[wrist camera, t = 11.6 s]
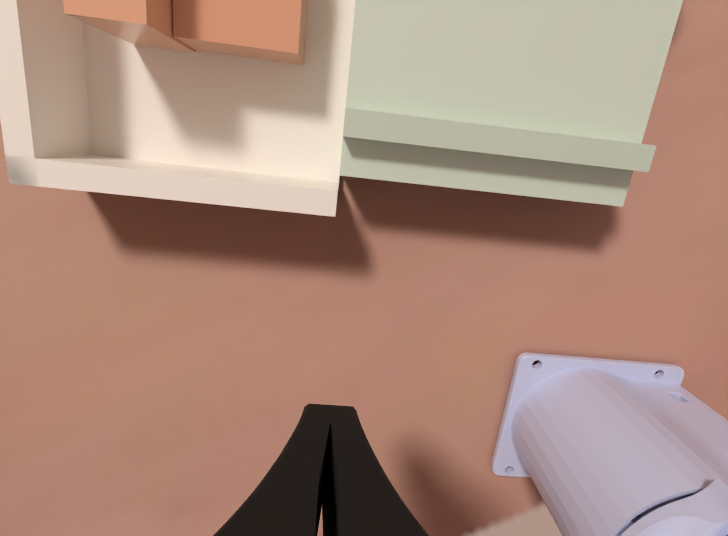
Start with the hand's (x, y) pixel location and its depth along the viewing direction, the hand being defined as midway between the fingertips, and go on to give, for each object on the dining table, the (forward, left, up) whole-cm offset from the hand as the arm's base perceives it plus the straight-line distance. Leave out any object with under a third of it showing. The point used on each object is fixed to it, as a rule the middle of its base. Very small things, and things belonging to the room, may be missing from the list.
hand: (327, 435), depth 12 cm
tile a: (+5, -13, -10) cm, 17 cm away
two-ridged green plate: (-6, -13, -10) cm, 18 cm away
